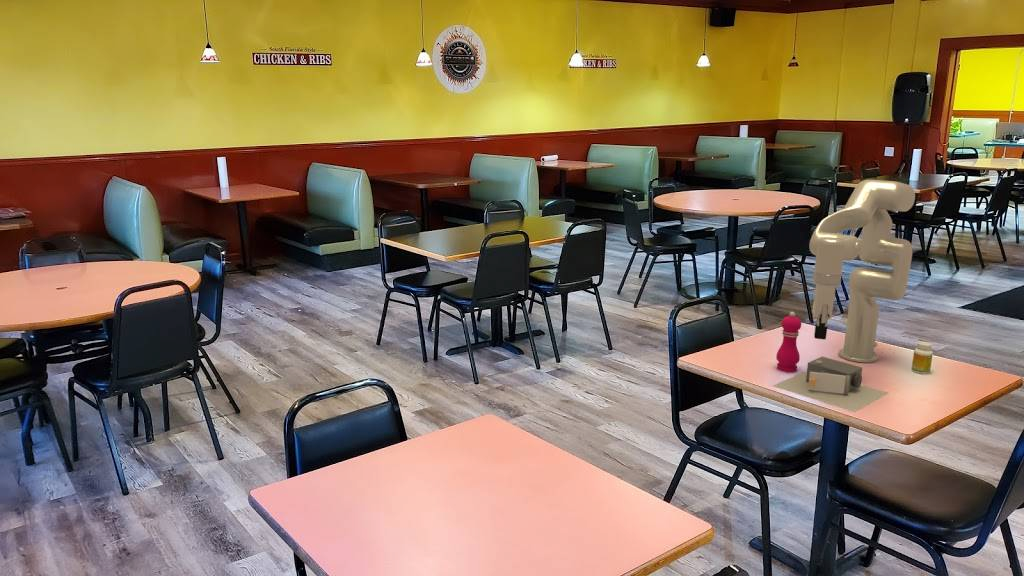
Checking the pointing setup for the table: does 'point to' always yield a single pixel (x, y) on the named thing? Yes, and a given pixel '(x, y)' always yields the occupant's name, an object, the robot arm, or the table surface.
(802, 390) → the mat
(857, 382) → the camera body
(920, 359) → the supplement bottle
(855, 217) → the robot arm
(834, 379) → the side door
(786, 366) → the pepper mill
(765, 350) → the table surface
